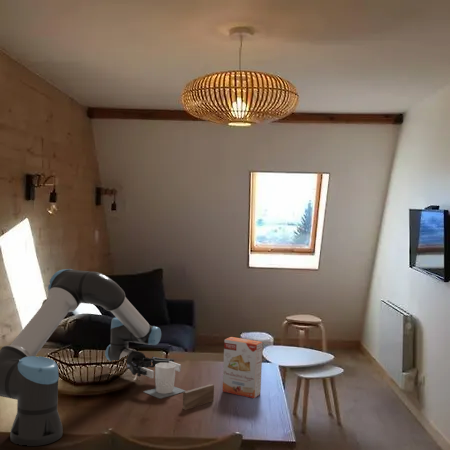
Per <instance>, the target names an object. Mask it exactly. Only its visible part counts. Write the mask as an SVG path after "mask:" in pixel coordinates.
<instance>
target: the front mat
mask: <svg viewBox="0 0 450 450" xmlns="http://www.w3.org/2000/svg"><path fill="white" fill-rule="evenodd" d="M185 391H186V389H183V388H180V387H177V386H174V391H173V392H172V393H168V394H161V393H158V392H156V387H154V388H152V389H151V388H150V389H146V390H144V391H143V393H144V394H146V395H149V396H152V397H154V398H157V399H159V400H163V399H165V398H168V397H171V396H176V395H179V394H183V392H185Z"/></svg>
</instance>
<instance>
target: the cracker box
mask: <svg viewBox="0 0 450 450" xmlns="http://www.w3.org/2000/svg"><path fill="white" fill-rule="evenodd" d="M223 341H224V342H223V343H224V344H223V365H222V367H223V370H222V373H223V374H222V389H221V390H222V392H223V393H227V394H231V395H232V394H233V395H238V396H241V397H246V398H250V399H256V398H258V397H259V395H261V388H262V387H261V386H262V369H263V368H262V367H263V366H262V363H263V343H264V342H263V341H258V340H254V339H253V340H252V339H248V338H247V339H246V338H241V337H234V336H230V337H227V338H225V339H224V340H223Z"/></svg>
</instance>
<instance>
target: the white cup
mask: <svg viewBox="0 0 450 450" xmlns="http://www.w3.org/2000/svg"><path fill="white" fill-rule="evenodd" d="M175 369H176V365H175V364H173V363H158V364H156V365H155V367H154V378H155V380H154V381H155V388H156V392H158V393H161V394H168V393H172V392H173V391H174V387H175V379H176V370H175Z"/></svg>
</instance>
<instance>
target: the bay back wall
mask: <svg viewBox="0 0 450 450" xmlns="http://www.w3.org/2000/svg"><path fill="white" fill-rule="evenodd" d="M214 394H215V385H214V384H212V383H209V384H207V385H203V386H200V387H196V388H192V389H188V390H185V392H183V393H182V409H183V410H185V411H186V410H190V409H193V408H197V407H199V406H203V405H205V404H206V405H207V404H209V403H211V402H214V396H215V395H214Z"/></svg>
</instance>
